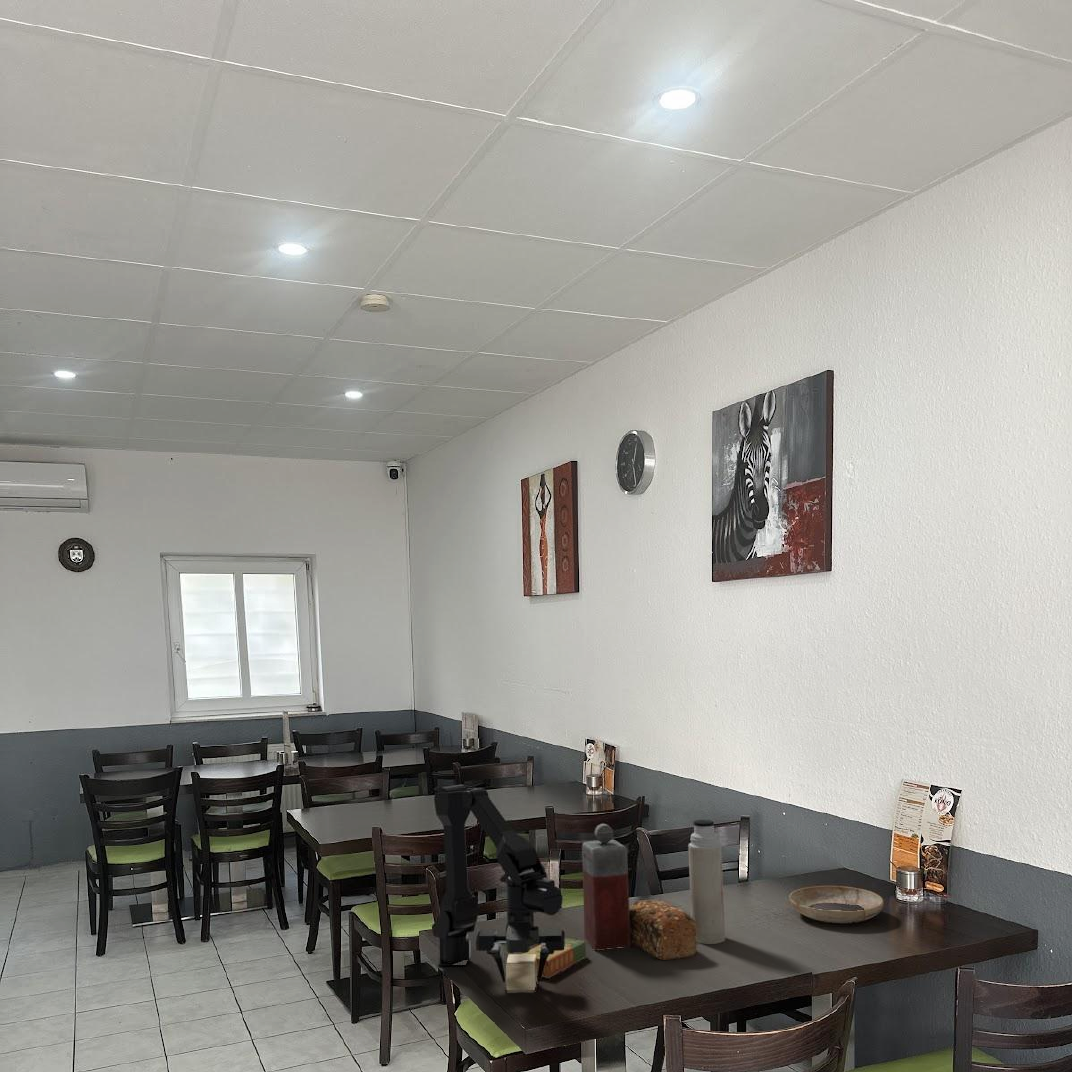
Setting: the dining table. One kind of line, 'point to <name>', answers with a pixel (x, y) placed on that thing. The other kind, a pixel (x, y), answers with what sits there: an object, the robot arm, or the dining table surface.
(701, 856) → the thermos bottle
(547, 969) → the carton
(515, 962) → the beech cube
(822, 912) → the ceramic bowl
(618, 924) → the red sauce bottle
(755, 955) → the dining table surface
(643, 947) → the bread
